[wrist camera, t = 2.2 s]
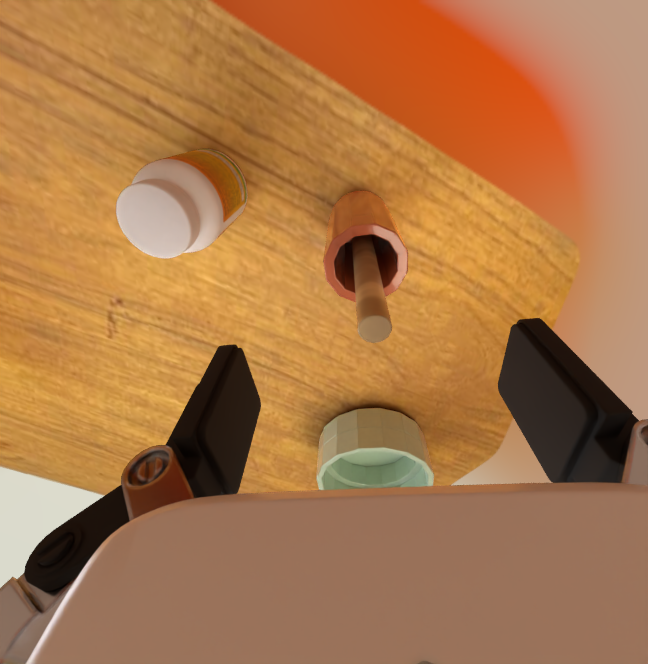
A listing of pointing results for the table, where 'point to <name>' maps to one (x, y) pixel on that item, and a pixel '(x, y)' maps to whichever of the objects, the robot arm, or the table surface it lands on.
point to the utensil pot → (356, 220)
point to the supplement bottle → (181, 203)
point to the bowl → (373, 452)
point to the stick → (369, 292)
